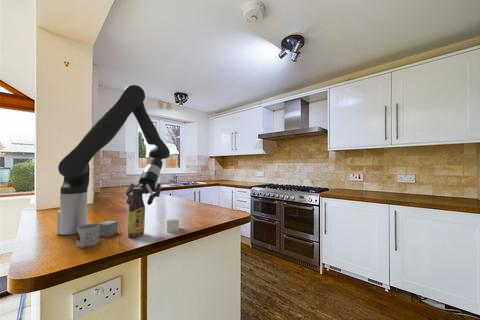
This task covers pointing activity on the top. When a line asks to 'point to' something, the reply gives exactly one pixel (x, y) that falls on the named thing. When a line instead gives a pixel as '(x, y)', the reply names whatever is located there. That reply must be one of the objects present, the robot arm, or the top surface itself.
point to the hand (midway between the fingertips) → (138, 204)
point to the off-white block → (172, 224)
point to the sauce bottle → (136, 214)
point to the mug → (87, 235)
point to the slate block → (108, 228)
